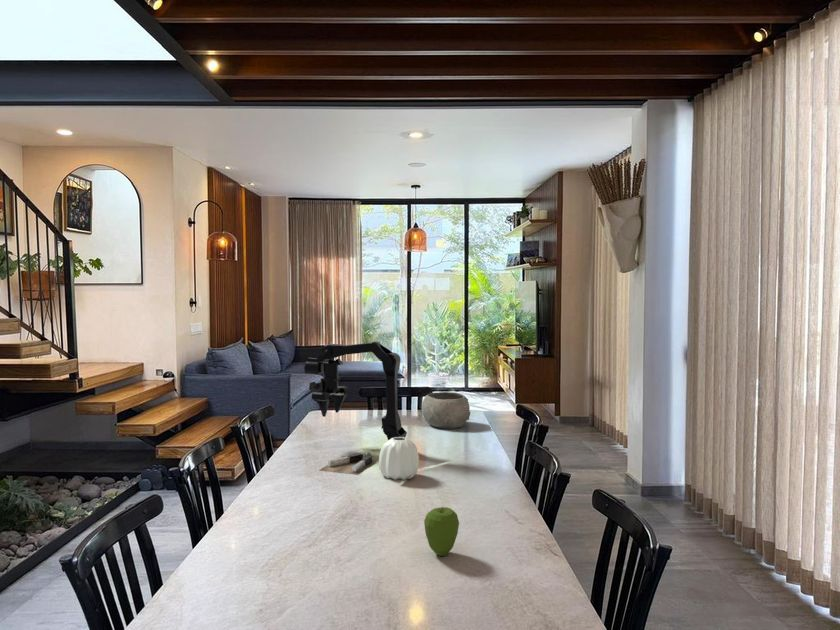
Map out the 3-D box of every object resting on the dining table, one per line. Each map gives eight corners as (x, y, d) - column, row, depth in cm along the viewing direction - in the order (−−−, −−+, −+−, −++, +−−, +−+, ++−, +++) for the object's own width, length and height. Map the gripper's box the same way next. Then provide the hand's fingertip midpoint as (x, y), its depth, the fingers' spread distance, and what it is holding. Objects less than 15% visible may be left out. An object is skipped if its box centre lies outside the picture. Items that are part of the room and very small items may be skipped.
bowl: (415, 428, 279) (415, 396, 279) (428, 419, 301) (429, 389, 301) (463, 432, 272) (464, 400, 272) (473, 422, 294) (474, 392, 294)
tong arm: (363, 459, 222) (363, 454, 222) (330, 467, 212) (330, 461, 212) (360, 458, 223) (360, 453, 223) (327, 465, 213) (327, 459, 213)
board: (379, 461, 223) (379, 459, 223) (358, 477, 204) (358, 474, 204) (342, 457, 228) (342, 455, 228) (318, 472, 208) (318, 470, 208)
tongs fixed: (376, 458, 224) (376, 452, 224) (356, 472, 206) (356, 465, 206) (367, 458, 225) (367, 451, 225) (347, 471, 207) (347, 464, 207)
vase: (414, 484, 197) (414, 444, 196) (373, 481, 199) (374, 441, 199) (422, 472, 210) (423, 435, 210) (384, 469, 213) (384, 432, 213)
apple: (438, 543, 150) (439, 498, 150) (465, 553, 145) (466, 506, 145) (416, 554, 144) (417, 507, 143) (444, 565, 138) (445, 516, 138)
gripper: (326, 371, 250) (326, 408, 250) (300, 377, 233) (299, 416, 233) (349, 373, 245) (349, 411, 246) (324, 379, 228) (323, 419, 229)
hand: (330, 414), depth 238 cm, fingers open, 9 cm apart
